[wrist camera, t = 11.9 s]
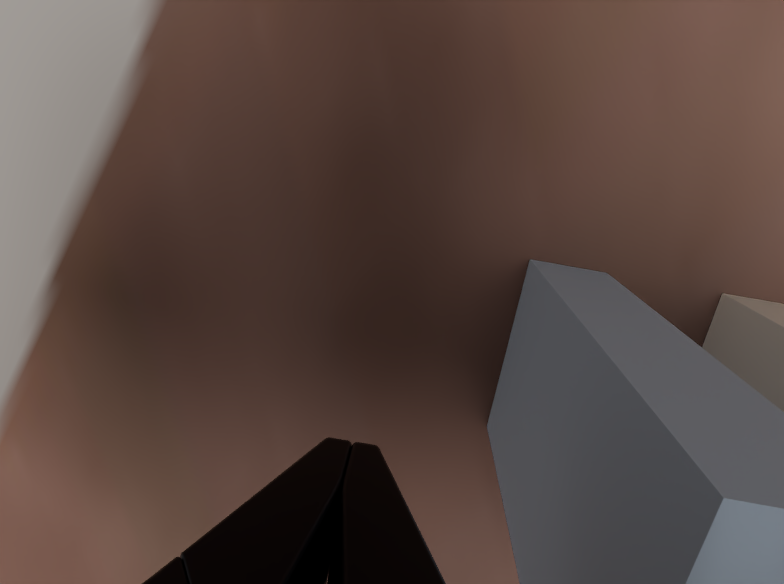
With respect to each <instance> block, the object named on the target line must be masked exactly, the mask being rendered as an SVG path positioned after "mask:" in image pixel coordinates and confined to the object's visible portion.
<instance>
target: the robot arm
mask: <svg viewBox="0 0 784 584" xmlns="http://www.w3.org/2000/svg"><path fill="white" fill-rule="evenodd" d="M328 574H329V575H328ZM327 579H328V582H327ZM326 583H327V584H446V583H445V581H444V579H443V577H442V575H441V573H440V571H439V569H438V567H437V565H436V563H435V561H434V559H433V557H432V555H431V553H430V551H429V549H428V547H427V545H426V543H425V541H424V539H423V537H422V534H421V532H420V530H419V528H418V526H417V524H416V522H415V520H414V518H413V516H412V514H411V512H410V510H409V508H408V506H407V504H406V502H405V500H404V498H403V496H402V494H401V492H400V490H399V488H398V486H397V484H396V482H395V479H394V477H393V475H392V473H391V471H390V469H389V467H388V465H387V463H386V461H385V459H384V457H383V455H382V453H381V451H380V449H379V447H378V446H376V445H372V444H366V443H360V442H355V443H353V445H352V444H351V442H350V441H348V440H342V439H336V438H330V437H328V438H326V439H324V440H323V441H322V442H320V443H319V444H318V445H317V446H315V447H314V448H313V449H312V450H310V451H309V452H308V453H307V454H305V455H304V456H303V457H302V458H300V459H299V460H298V461H297V462H295V463H294V464H293V465H292V466H290V467H289V468H288V469H287V470H285V471H284V472H283V473H282V474H280V475H279V476H278V477H277V478H275V479H274V480H273V481H271V482H270V483H269V484H268V485H266V486H265V487H264V488H263V489H261V490H260V491H259V492H258V493H256V494H255V495H254V496H253V497H251V498H250V499H249V500H248V501H246V502H245V503H244V504H243V505H241V506H240V507H239V508H238V509H236V510H235V511H234V512H233V513H231V514H230V515H229V516H228V517H226V518H225V519H224V520H222V521H221V522H220V523H219V524H217V525H216V526H215V527H214V528H212V529H211V530H210V531H209V532H207V533H206V534H205V535H204V536H202V537H201V538H200V539H199V540H197V541H196V542H195V543H194V544H192V545H191V546H190V547H189V548H187V549H186V550H185V551H184V552H182V553H181V555H180V557H176V558H174V559H173V560H172V561H171V562H169V563H168V564H167V565H166V566H164V567H163V568H162V569H161V570H159V571H158V572H157V573H155V574H154V575H153V576H152V577H150V578H149V579H148V580H146V581H145V582H144V583H142V584H326Z"/></svg>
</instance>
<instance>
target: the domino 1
mask: <svg viewBox="0 0 784 584" xmlns="http://www.w3.org/2000/svg"><path fill="white" fill-rule="evenodd" d="M487 430H488V435H489V439H490V444H491V449H492V454H493V458H494V463H495V468H496V473H497V477H498V482H499V487H500V492H501V497H502V501H503V506H504V511H505V516H506V520H507V525H508V530H509V535H510V539H511V544H512V549H513V554H514V558H515V563H516V568H517V573H518V578H519V582H520V584H784V412H783V411H782V410H780V409H779V408H778V407H777V406H775V405H774V404H773V403H772V402H770V401H769V400H768V399H766V398H765V397H764V396H763V395H761V394H760V393H759V392H758V391H756V390H755V389H754V388H753V387H751V386H750V385H749V384H747V383H746V382H745V381H744V380H742V379H741V378H740V377H739V376H737V375H736V374H735V373H733V372H732V371H731V370H730V369H728V368H727V367H726V366H725V365H723V364H722V363H721V362H720V361H718V360H717V359H716V358H714V357H713V356H712V355H711V354H709V353H708V352H707V351H706V350H704V349H703V348H702V347H700V346H699V345H698V344H697V343H695V342H694V341H693V340H692V339H690V338H689V337H688V336H686V335H685V334H684V333H683V332H681V331H680V330H679V329H678V328H676V327H675V326H674V325H673V324H671V323H670V322H669V321H667V320H666V319H665V318H664V317H662V316H661V315H660V314H659V313H657V312H656V311H655V310H653V309H652V308H651V307H650V306H648V305H647V304H646V303H645V302H643V301H642V300H641V299H639V298H638V297H637V296H636V295H634V294H633V293H632V292H631V291H629V290H628V289H627V288H626V287H624V286H623V285H622V284H620V283H619V282H618V281H617V280H615V279H614V278H613V277H612V276H610V275H609V274H608V273H605V272H599V271H594V270H588V269H583V268H577V267H571V266H566V265H560V264H554V263H549V262H543V261H537V260H532V259H530V261H529V265H528V268H527V272H526V276H525V280H524V284H523V288H522V292H521V296H520V300H519V303H518V307H517V311H516V315H515V319H514V323H513V327H512V331H511V334H510V338H509V342H508V346H507V350H506V354H505V358H504V362H503V365H502V369H501V373H500V377H499V381H498V385H497V389H496V393H495V396H494V400H493V404H492V408H491V412H490V416H489V420H488V424H487Z"/></svg>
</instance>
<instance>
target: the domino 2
mask: <svg viewBox="0 0 784 584" xmlns="http://www.w3.org/2000/svg"><path fill="white" fill-rule="evenodd" d="M702 348H703V349H704V350H706V351H707V352H708V353H709V354H711V355H712V356H713V357H714V358H716V359H717V360H718V361H720V362H721V363H722V364H723V365H725V366H726V367H727V368H728V369H730V370H731V371H732V372H733V373H735V374H736V375H737V376H739V377H740V378H741V379H742V380H744V381H745V382H746V383H747V384H749V385H750V386H751V387H753V388H754V389H755V390H756V391H758V392H759V393H760V394H761V395H763V396H764V397H765V398H766V399H768V400H769V401H770V402H772V403H773V404H774V405H775V406H777V407H778V408H779V409H780V410H782V411H783V412H784V304H783V303H777V302H771V301H765V300H759V299H754V298H748V297H742V296H736V295H730V294H724V293H722V295H721V298H720V300H719V303H718V306H717V308H716V311H715V314H714V316H713V319H712V322H711V324H710V327H709V330H708V332H707V335H706V338H705V340H704V343H703V346H702Z"/></svg>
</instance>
